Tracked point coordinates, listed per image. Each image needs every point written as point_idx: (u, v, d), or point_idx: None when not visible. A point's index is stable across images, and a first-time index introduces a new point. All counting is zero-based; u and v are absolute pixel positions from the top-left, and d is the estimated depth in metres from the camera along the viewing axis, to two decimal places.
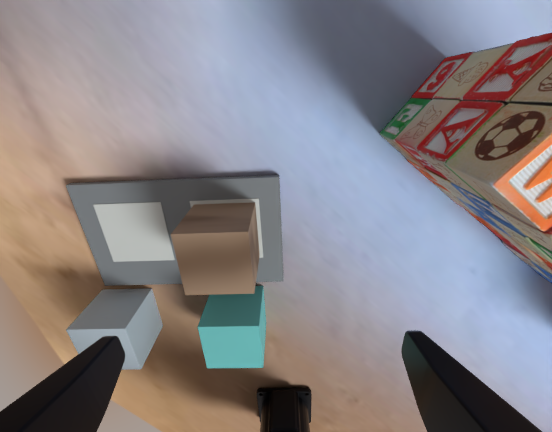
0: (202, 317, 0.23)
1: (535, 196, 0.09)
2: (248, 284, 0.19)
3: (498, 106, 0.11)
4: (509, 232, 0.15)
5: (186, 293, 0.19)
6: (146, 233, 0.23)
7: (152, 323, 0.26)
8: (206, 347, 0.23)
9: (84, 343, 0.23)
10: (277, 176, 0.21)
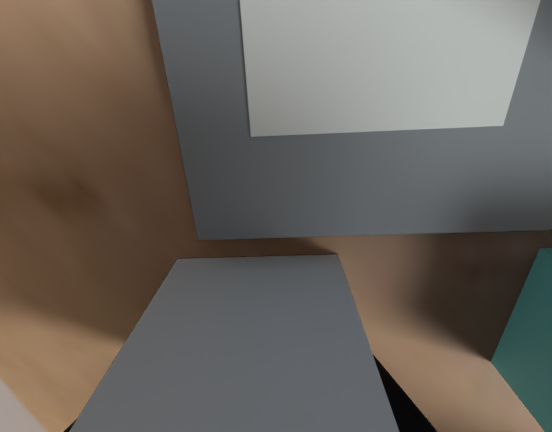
0: None
1: None
2: None
3: None
4: None
5: None
6: None
7: None
8: None
9: None
10: None
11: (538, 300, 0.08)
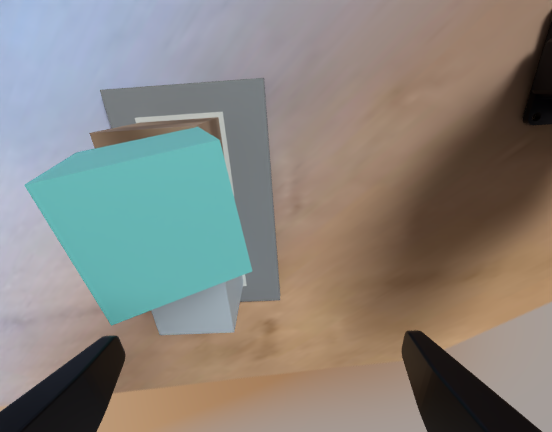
0: (44, 174, 0.08)
1: None
2: None
3: None
4: None
5: None
6: None
7: None
8: (86, 256, 0.08)
9: None
10: None
11: None
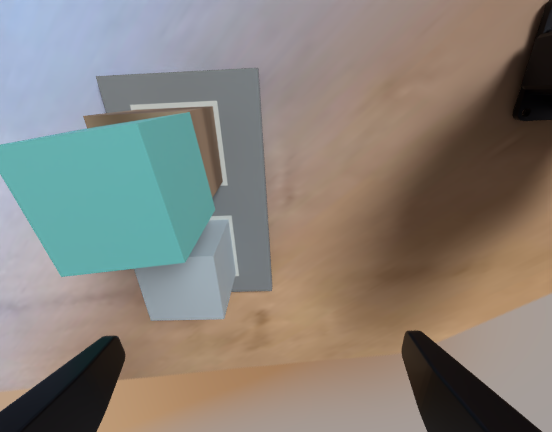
0: None
1: None
2: None
3: None
4: None
5: None
6: None
7: (229, 265, 0.20)
8: (35, 214, 0.09)
9: (153, 280, 0.17)
10: None
11: None
